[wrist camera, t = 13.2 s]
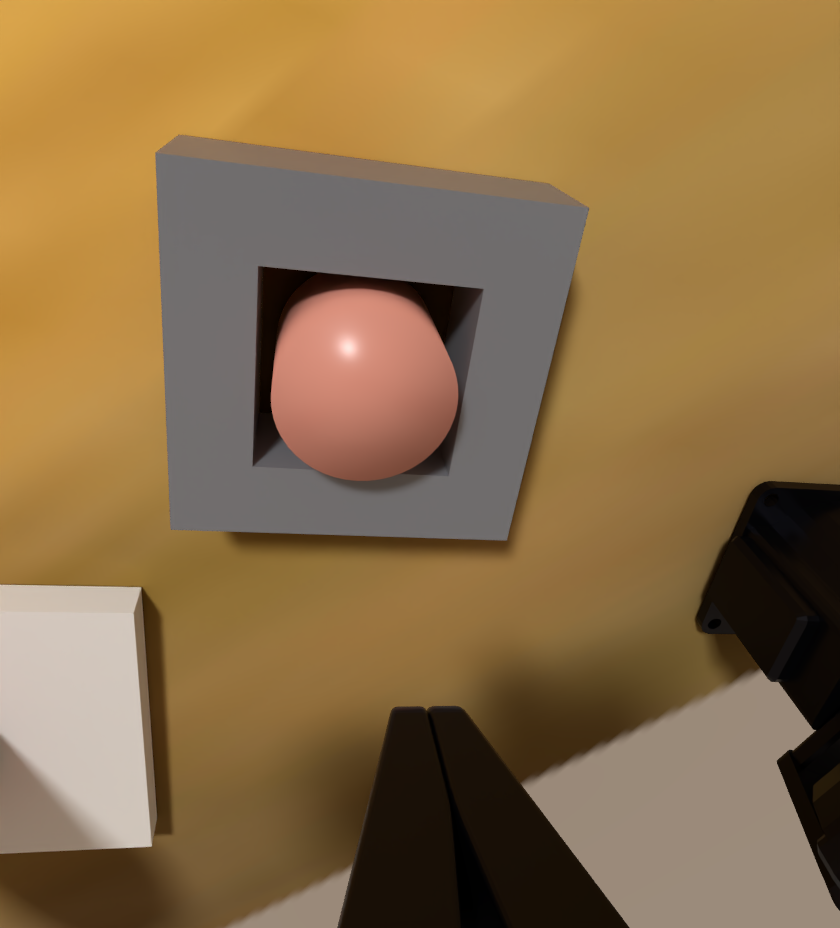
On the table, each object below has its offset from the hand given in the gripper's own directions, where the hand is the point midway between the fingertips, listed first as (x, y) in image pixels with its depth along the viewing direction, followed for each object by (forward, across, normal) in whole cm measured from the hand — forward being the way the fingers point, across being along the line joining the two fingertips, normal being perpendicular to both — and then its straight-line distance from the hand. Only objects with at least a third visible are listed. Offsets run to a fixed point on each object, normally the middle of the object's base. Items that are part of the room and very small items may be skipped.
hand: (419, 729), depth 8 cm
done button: (+13, 0, 0) cm, 13 cm away
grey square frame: (+13, 0, 0) cm, 13 cm away
